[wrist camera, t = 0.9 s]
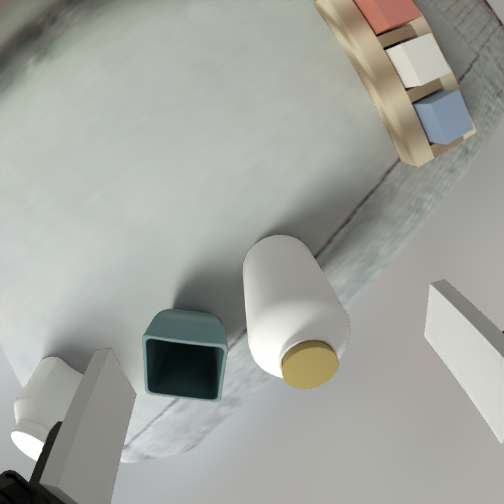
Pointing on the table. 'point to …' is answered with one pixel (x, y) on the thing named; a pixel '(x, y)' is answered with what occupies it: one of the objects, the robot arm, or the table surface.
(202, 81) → the table surface
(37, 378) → the jar
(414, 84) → the white key
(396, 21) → the red key
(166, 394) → the flower pot
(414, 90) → the wooden block holder
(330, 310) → the potion bottle
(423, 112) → the blue short block
